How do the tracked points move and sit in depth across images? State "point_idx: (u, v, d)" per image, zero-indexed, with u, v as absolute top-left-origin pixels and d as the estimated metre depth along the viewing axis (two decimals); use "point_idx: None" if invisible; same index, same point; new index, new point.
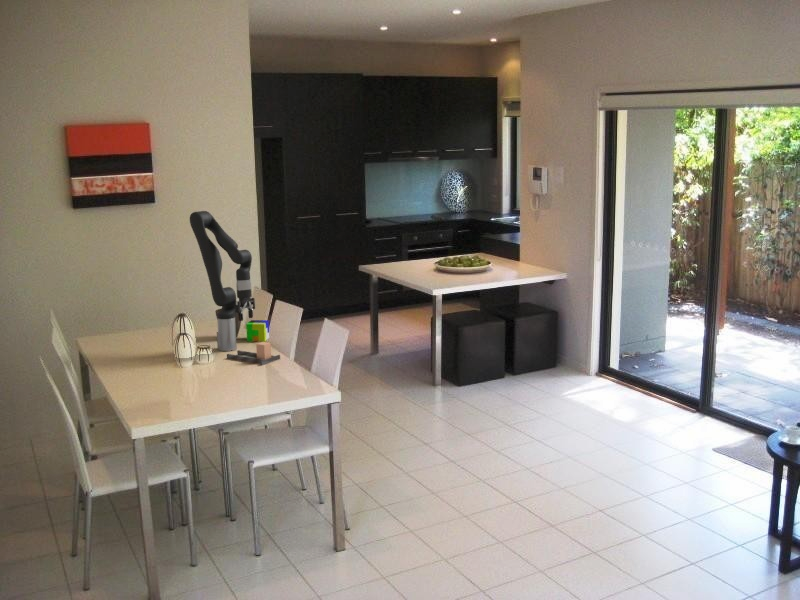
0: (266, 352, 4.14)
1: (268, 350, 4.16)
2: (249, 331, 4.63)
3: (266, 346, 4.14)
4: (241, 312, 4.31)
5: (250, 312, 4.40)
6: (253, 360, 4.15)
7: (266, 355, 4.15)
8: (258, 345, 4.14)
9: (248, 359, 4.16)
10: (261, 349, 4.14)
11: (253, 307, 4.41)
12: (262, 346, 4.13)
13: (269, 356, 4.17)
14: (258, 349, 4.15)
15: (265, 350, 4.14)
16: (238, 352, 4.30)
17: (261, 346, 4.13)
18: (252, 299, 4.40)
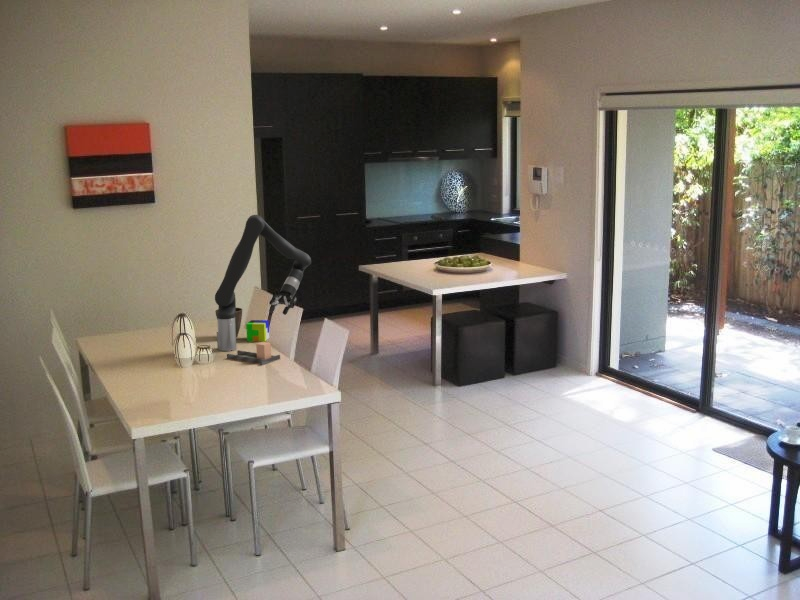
0: (266, 352, 4.14)
1: (268, 350, 4.16)
2: (249, 331, 4.63)
3: (266, 346, 4.14)
4: (289, 308, 4.26)
5: (273, 308, 4.30)
6: (253, 360, 4.15)
7: (266, 355, 4.15)
8: (258, 345, 4.14)
9: (248, 359, 4.16)
10: (261, 349, 4.14)
11: None
12: (262, 346, 4.13)
13: (269, 356, 4.17)
14: (258, 349, 4.15)
15: (265, 350, 4.14)
16: (238, 352, 4.30)
17: (261, 346, 4.13)
18: None
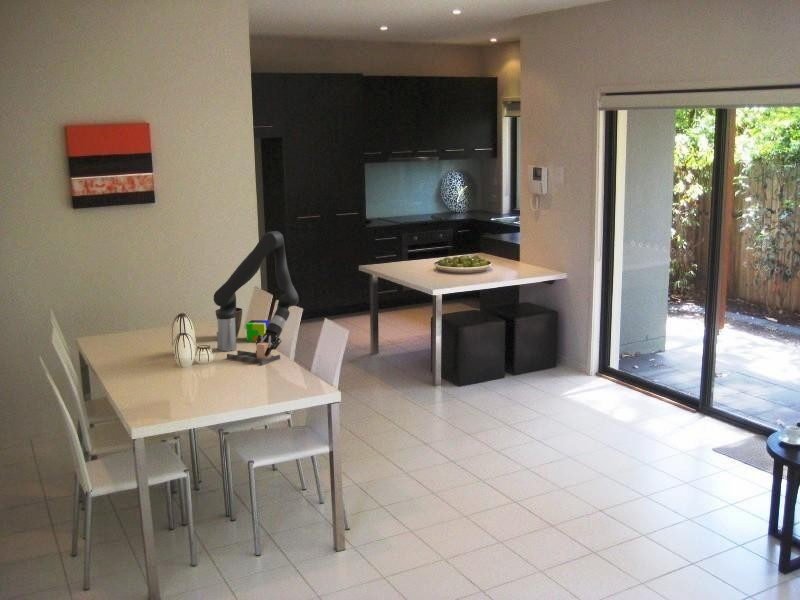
0: None
1: None
2: (249, 331, 4.63)
3: (266, 346, 4.14)
4: None
5: None
6: (253, 360, 4.15)
7: None
8: (258, 345, 4.14)
9: (248, 359, 4.16)
10: (261, 349, 4.14)
11: None
12: (262, 346, 4.13)
13: (269, 356, 4.17)
14: (258, 349, 4.15)
15: (265, 350, 4.14)
16: (238, 352, 4.30)
17: (261, 346, 4.13)
18: None
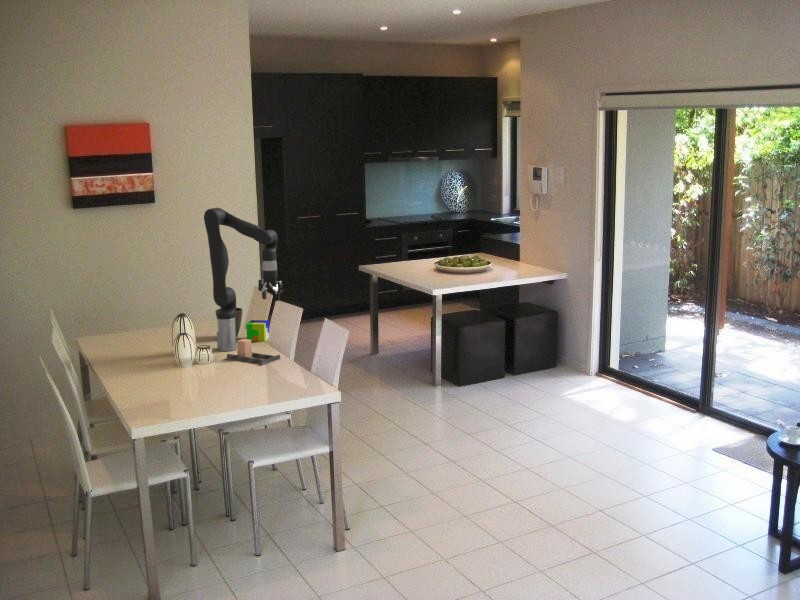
0: (246, 349, 4.20)
1: (249, 347, 4.22)
2: (249, 331, 4.63)
3: (247, 343, 4.20)
4: None
5: (265, 293, 4.36)
6: (253, 360, 4.15)
7: (247, 352, 4.21)
8: (238, 341, 4.21)
9: (248, 359, 4.16)
10: (242, 346, 4.20)
11: (262, 288, 4.37)
12: (243, 343, 4.19)
13: (250, 353, 4.23)
14: (239, 346, 4.21)
15: (246, 347, 4.20)
16: None
17: (241, 342, 4.20)
18: None
